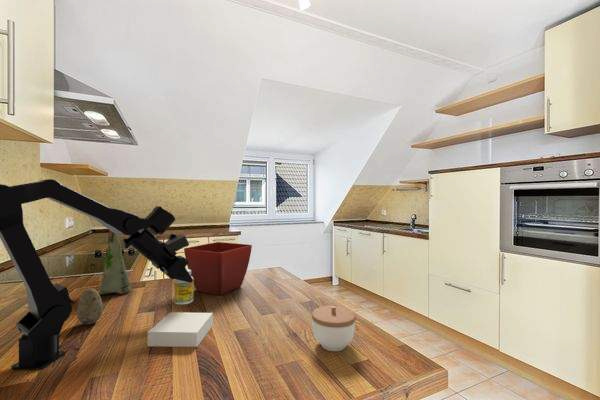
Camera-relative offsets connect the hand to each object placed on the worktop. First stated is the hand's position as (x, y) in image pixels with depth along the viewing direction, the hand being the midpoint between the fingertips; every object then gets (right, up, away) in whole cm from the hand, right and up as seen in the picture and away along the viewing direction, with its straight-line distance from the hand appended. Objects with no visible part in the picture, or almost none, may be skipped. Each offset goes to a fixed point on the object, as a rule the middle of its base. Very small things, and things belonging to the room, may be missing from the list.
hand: (188, 279), depth 90 cm
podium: (+4, -11, -14) cm, 18 cm away
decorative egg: (-25, -11, -7) cm, 28 cm away
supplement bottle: (-1, -7, -1) cm, 7 cm away
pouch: (-36, -10, +20) cm, 42 cm away
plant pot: (+2, -11, +25) cm, 27 cm away
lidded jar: (+43, -11, -18) cm, 48 cm away
